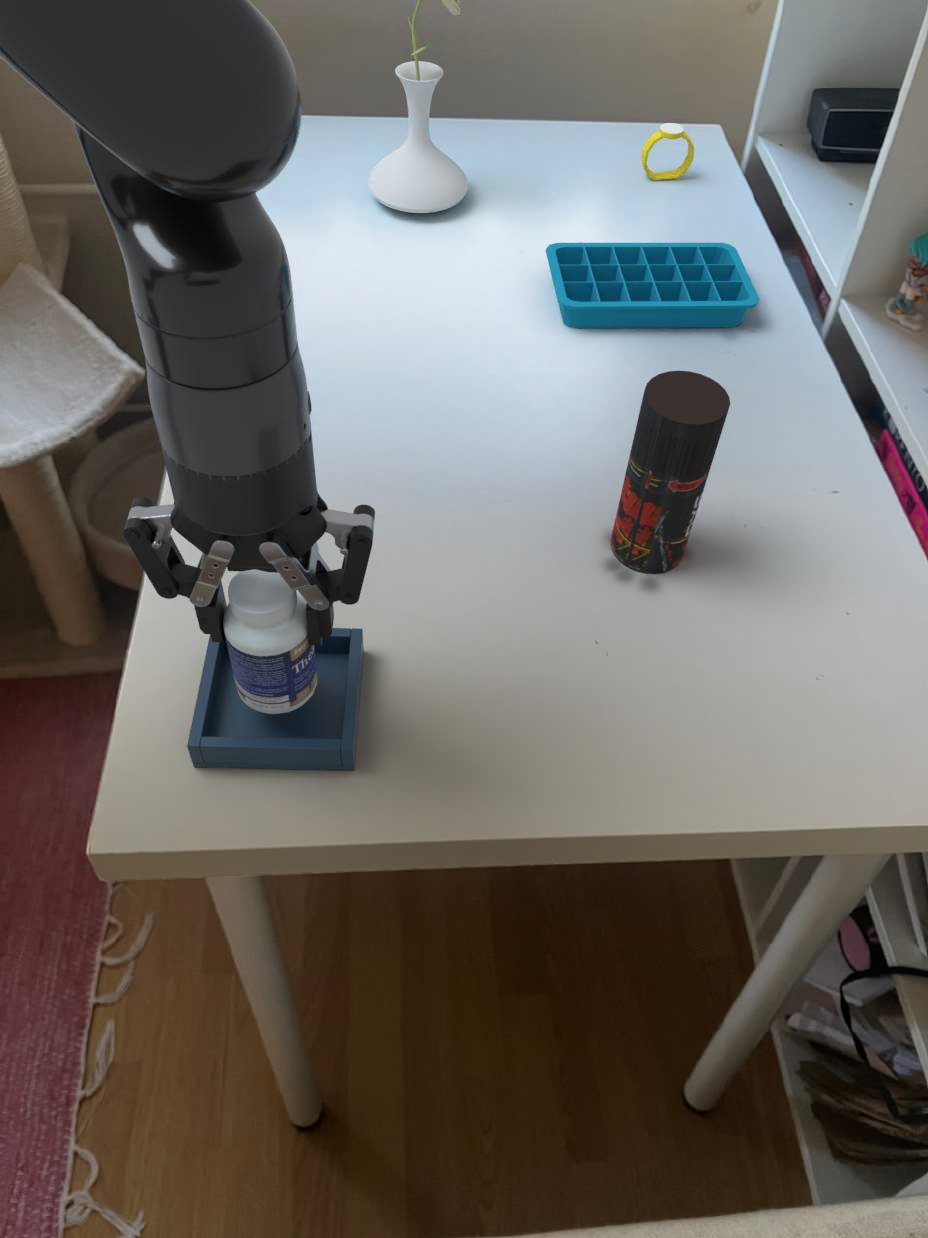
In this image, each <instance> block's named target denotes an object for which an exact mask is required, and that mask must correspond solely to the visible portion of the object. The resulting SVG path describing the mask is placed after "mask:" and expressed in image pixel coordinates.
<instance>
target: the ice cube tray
mask: <svg viewBox="0 0 928 1238" xmlns="http://www.w3.org/2000/svg"><path fill="white" fill-rule="evenodd" d="M545 254H546V258H547V262H548V267H549V272H550V275H551V279H552V284H553V287H554V292H555V297H556V301H557V303H558V307H559V310H560V314H561V319H562V323H563V325H565V326H567V327H569V328H574V329H652V328H653V329H656V328H657V329H660V328H661V329H664V328H665V329H666V328H673V329H674V328H734V327H738V326H740V325H741V324H742V322H743V319H744V317H745V315H746V313H747V310H748V309H753V308H755V307H757V306H758V303H759V302H760V297H759V295H758V292H757V290H756V288H755V286H754V284H753V282H752V280H751V277H750V276H749V272H748V271H747V269H746V266H745V264H744V262H743V260H742V258H741V256H740V254H739V252H738V249H737V248H736V247H735V246H733V245H731V244H729V243H727V242H555V243H551V244H549V245H548V246H547V247H546V248H545Z"/></svg>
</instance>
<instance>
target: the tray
mask: <svg viewBox="0 0 928 1238" xmlns="http://www.w3.org/2000/svg"><path fill="white" fill-rule="evenodd" d="M314 649H315V658H316V668H317V685H316V688H315V690H314V693H313V695H312V696H311V697H310V698H309V700H308V701H306V702H305V703H304V704H303V705H302V706H300V707H299V708H297V709H295V710H293V711H290V712H287V713H280V714H268V713H263V712H259V711H256V710H254V709H252V708H251V707H249V706H248V705H246V704H245V703H244V702H243V700H242V699H241V697H240V695H239V693H238V690H237V687H236V683H235V678H234V673H233V669H232V664H231V660H230V656H229V651H228V646H227V642H226V638H225V642H212V639H211V635H210V634H209V637H208V642H207V648H206V652H205V656H204V662H203V667H202V672H201V676H200V681H199V687H198V691H197V696H196V701H195V705H194V710H193V716H192V720H191V724H190V725H191V726H190V729H189V735H188V740H187V745H186V748H187V750H188V754H189V756H190V761H191V763H192V766H193V767H194V768H219V769H220V768H222V769H223V768H224V769H226V768H227V769H264V770H265V769H270V770H308V771H309V770H313V771H315V770H317V771H355V768H356V767H355V766H356V754H357V741H358V729H359V719H360V718H359V717H360V716H359V715H360V706H361V705H360V704H361V693H362V692H361V691H362V678H363V677H362V676H363V666H364V652H365V649H364V630H363V628H355V627H354V628H350V627H333V630H332V634H331V636H330V638H323V639H322V645H321V646H320V645H314Z"/></svg>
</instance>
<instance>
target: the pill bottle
mask: <svg viewBox="0 0 928 1238" xmlns="http://www.w3.org/2000/svg"><path fill="white" fill-rule="evenodd" d="M227 595H228V604H226V605H227V607H226V610H225V612H224V617H223V627H224V633H225V638H226V642H227V646H228V651H229V656H230V660H231V664H232V669H233V673H234V678H235V683H236V687H237V690H238V693H239V695H240V697H241V699H242V700H243V702H244V703H245V704H246V705H248V706H249V707H251V708H252V709H254V710H256V711H259V712H263V713H268V714H280V713H287V712H290V711H293V710H295V709H297V708H299V707H300V706H302V705H303V704H304V703H305V702H306V701H308V700H309V698H310V697H311V696H312V695H313V693H314V690H315V688H316V685H317V668H316V658H315V649H314V645H310V641H309V633H308V625H307V616H306V605H307V602H306V601H305V599H304V598H303V597H302V595H301V594H300V593H299V591H298V592H297V590H296V591H293V590H291V588H290V587H289V586H288V584H287V583H286V582H285V580H284V579H283V578H282V576H281V575H280V574H279V573H274V572H265V571H260V570H248V571H237V573H236V574H235V575H234V576H233V577H232V578H231V579H230V581H229V584H228V587H227Z"/></svg>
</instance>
